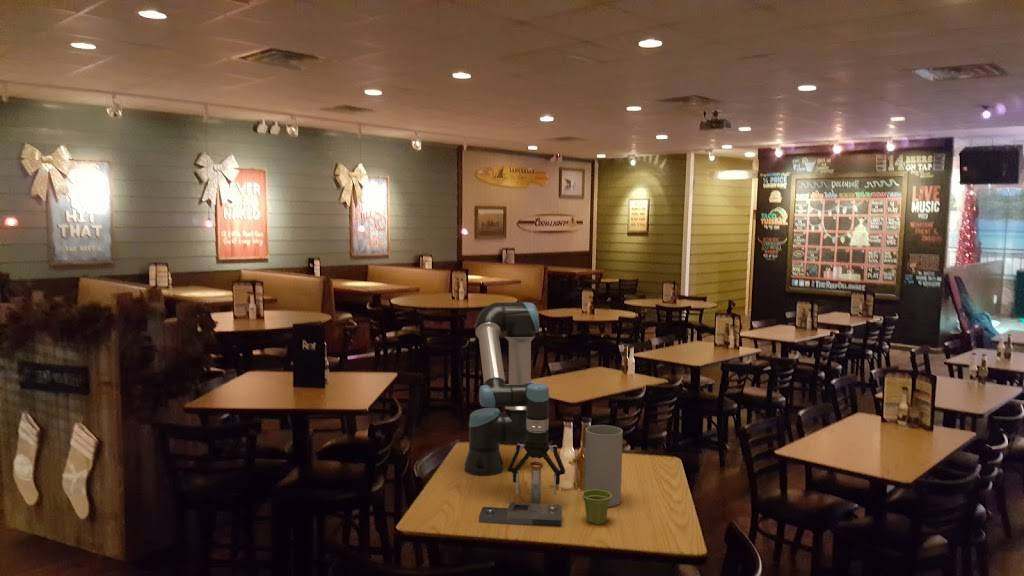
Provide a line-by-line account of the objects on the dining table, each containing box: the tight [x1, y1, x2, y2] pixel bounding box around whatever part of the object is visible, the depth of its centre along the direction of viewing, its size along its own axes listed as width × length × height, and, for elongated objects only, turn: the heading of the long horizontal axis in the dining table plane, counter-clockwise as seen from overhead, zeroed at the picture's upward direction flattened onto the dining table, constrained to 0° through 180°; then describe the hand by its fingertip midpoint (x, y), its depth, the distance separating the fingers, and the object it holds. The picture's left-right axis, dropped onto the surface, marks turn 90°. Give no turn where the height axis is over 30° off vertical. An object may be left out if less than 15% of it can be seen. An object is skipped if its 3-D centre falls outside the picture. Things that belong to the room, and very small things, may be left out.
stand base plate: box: [478, 501, 563, 528], centre depth 237 cm, size 26×8×5 cm, turn 84°
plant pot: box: [581, 490, 612, 525], centre depth 237 cm, size 9×9×9 cm
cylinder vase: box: [583, 424, 624, 508], centre depth 253 cm, size 12×12×25 cm
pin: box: [529, 461, 544, 504], centre depth 250 cm, size 4×4×14 cm
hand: (536, 492), depth 250 cm, fingers open, 12 cm apart
